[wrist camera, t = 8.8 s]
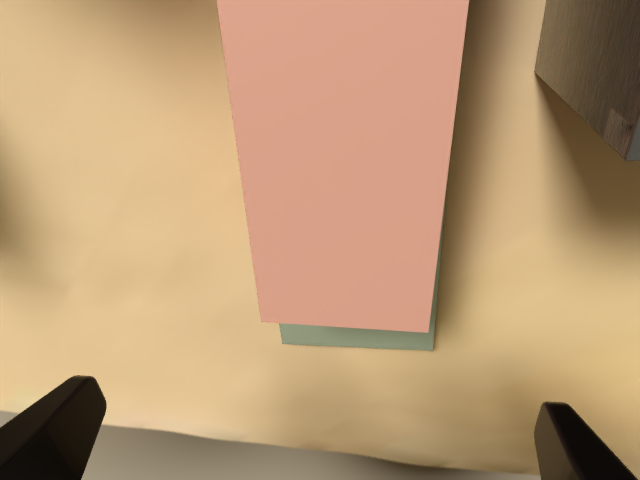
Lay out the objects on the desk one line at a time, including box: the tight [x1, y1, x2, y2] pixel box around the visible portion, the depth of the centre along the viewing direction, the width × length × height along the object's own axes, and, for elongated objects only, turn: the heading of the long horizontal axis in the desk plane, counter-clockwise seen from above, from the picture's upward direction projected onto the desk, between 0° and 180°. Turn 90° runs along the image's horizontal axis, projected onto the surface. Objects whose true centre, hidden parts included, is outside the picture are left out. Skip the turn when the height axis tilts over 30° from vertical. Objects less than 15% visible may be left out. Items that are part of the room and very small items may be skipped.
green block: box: [279, 176, 448, 351], centre depth 16 cm, size 6×14×1 cm, turn 4°
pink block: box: [216, 0, 469, 333], centre depth 12 cm, size 5×13×4 cm, turn 2°
